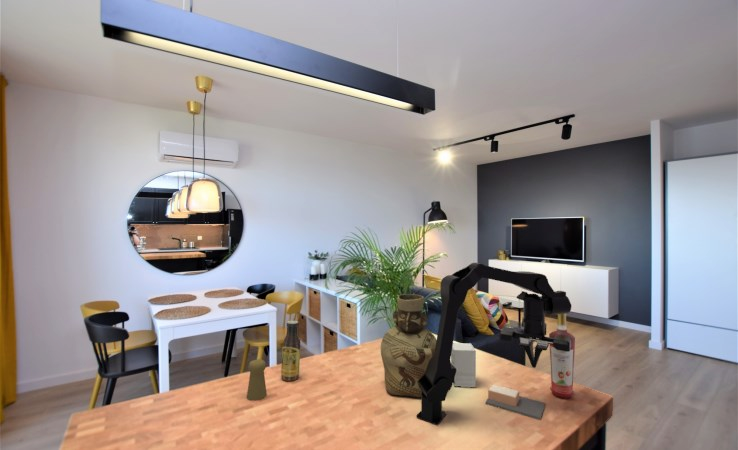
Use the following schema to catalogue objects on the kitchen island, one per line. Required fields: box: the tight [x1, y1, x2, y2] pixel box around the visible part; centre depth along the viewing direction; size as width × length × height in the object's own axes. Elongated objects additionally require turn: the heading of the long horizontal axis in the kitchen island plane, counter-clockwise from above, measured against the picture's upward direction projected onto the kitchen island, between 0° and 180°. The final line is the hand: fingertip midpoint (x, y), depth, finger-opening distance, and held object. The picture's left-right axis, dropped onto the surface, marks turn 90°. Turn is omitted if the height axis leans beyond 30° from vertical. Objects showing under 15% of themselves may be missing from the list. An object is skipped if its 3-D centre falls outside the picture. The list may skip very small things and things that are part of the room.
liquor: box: [548, 314, 576, 399], centre depth 109 cm, size 7×7×28 cm
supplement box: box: [450, 342, 477, 388], centre depth 117 cm, size 7×7×13 cm
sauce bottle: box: [280, 320, 301, 382], centre depth 120 cm, size 6×6×20 cm
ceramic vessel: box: [380, 293, 437, 398], centre depth 114 cm, size 19×21×30 cm
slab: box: [487, 384, 520, 406], centre depth 105 cm, size 5×3×8 cm
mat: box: [485, 395, 546, 420], centre depth 103 cm, size 10×15×1 cm, turn 55°
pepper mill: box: [246, 358, 268, 402], centre depth 107 cm, size 6×6×11 cm
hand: (534, 367), depth 101 cm, fingers closed
